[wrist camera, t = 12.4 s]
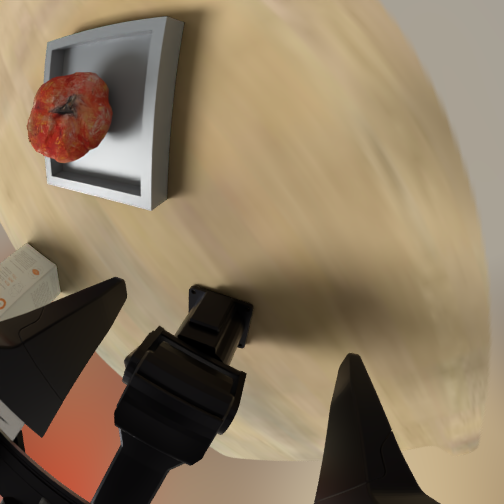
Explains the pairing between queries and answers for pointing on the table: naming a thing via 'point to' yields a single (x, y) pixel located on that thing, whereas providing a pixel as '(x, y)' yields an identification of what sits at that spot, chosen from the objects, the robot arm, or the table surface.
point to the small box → (26, 282)
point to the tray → (123, 108)
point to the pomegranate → (70, 116)
